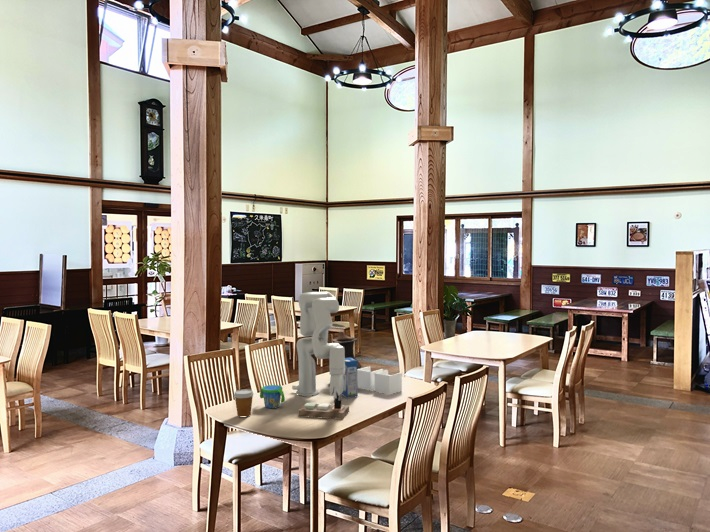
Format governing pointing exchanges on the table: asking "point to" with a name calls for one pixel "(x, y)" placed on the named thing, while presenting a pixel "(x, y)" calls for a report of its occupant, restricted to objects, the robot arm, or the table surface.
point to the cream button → (323, 406)
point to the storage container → (379, 380)
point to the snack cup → (272, 395)
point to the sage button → (310, 405)
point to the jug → (347, 346)
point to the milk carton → (350, 378)
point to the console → (324, 412)
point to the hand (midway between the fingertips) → (337, 408)
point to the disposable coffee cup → (243, 402)
